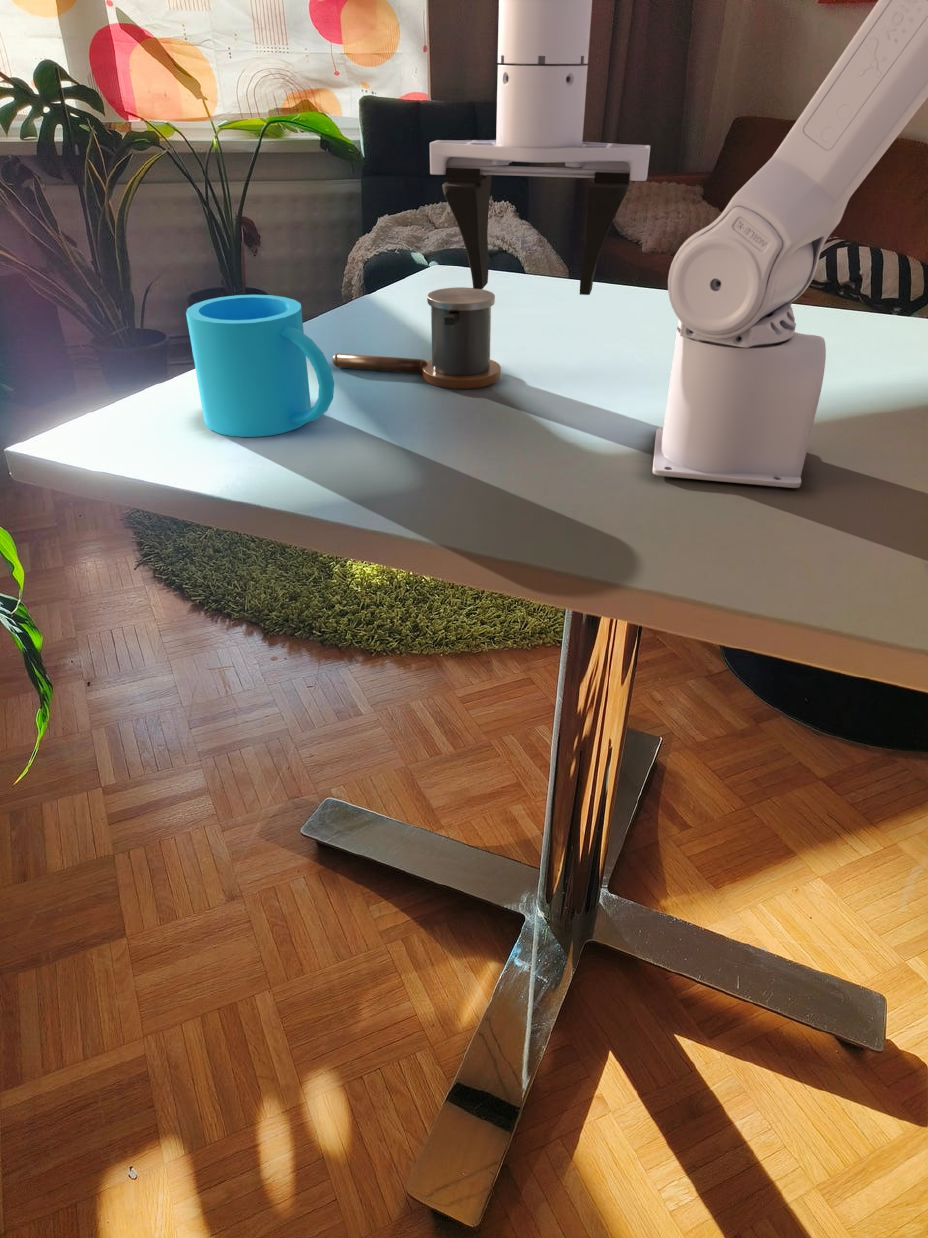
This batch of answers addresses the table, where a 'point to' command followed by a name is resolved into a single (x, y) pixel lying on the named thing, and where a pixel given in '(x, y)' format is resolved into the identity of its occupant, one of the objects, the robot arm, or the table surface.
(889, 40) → the robot arm
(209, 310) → the mug
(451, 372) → the pot
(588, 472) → the table surface
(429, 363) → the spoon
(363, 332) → the table surface
